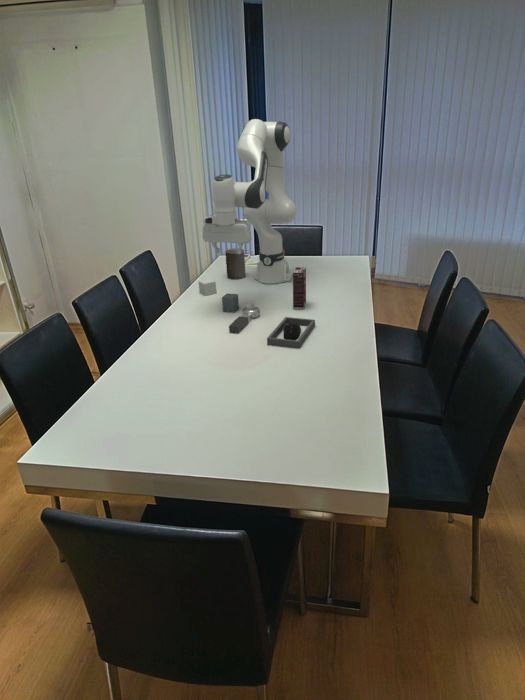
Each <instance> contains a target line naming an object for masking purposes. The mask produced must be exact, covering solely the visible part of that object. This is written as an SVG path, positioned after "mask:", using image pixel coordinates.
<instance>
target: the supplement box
mask: <svg viewBox="0 0 525 700" xmlns="http://www.w3.org/2000/svg"><path fill="white" fill-rule="evenodd" d="M306 304H307V268H306V267H301V266H300V267H298V266H297V267H295V268H294V270H293V275H292V309H293V310H304V309H305V305H306Z"/></svg>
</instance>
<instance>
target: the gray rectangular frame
mask: <svg viewBox="0 0 525 700" xmlns="http://www.w3.org/2000/svg"><path fill="white" fill-rule="evenodd" d="M288 324H297V325H299V326H304V327H306V328H305V329H304V330H303V332H301V334H300V336H299V338H298V339H297V340H288V339H284V338H279V337H278V336H279V335H280V333H281V332H282V331H284V328H285V326H286V325H288ZM315 327H316V320H315V319H311V318H302V317H300V318H299V317H289V316H285V317H284V318H283V319H282V321H280V322H279V323H278V325H277V326H276V327H275V328H274V330H273V331H272V332H271V333H270V334H269V335H268V336H267V338H266V342H267V343H266V344H267V346H275V347H276V346H277V347H283V346H284V348H293V349H300V348H301V347H302V346H303V344H304V342H305V341H306V340H307V338H308V336H309V335H310V334H311V332H312V331H313V330H314V328H315Z"/></svg>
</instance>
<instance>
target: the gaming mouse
mask: <svg viewBox="0 0 525 700" xmlns="http://www.w3.org/2000/svg"><path fill="white" fill-rule="evenodd" d="M301 334H302V328H301V325H297V324H287V325H286V326H285V327H284V329H283V339H288V340H298V339H299V337H300V336H301Z"/></svg>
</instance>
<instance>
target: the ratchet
mask: <svg viewBox="0 0 525 700" xmlns="http://www.w3.org/2000/svg"><path fill="white" fill-rule="evenodd" d="M255 304H256V303H255V301H251V300H250V301H247V303H246V307H245V306H244V307H243V308H242V315H241V316H238V317H237V318H236V319H235V320H234V321H233V322H231V323H230V324H229V326H228V330H229V331H228V332H229V334H240V333H241V332H242V331H243V330H244V329H245V328H246V327H247V326H248V325H249V323H250V322H252V320H256V319H259V318H260V316H261V314H260V312H261V310H260V307H259V306H256V305H255Z"/></svg>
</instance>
